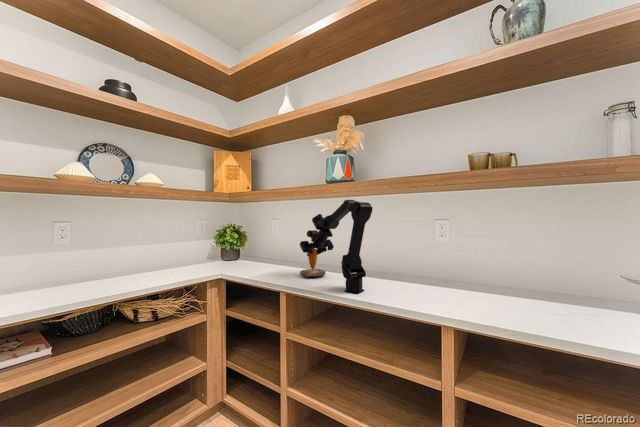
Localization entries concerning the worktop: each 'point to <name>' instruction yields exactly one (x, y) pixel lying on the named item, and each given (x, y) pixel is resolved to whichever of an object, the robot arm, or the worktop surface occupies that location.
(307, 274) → the walnut base
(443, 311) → the worktop surface
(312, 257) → the carrot
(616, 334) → the worktop surface
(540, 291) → the worktop surface
